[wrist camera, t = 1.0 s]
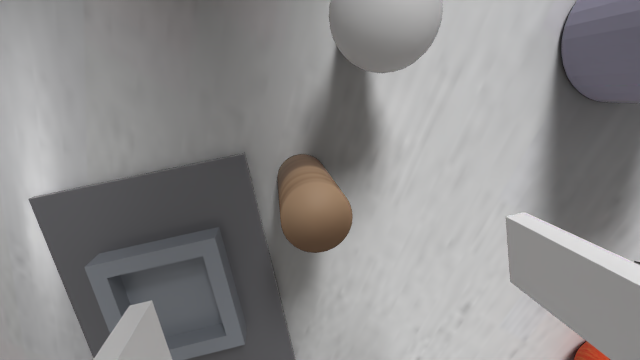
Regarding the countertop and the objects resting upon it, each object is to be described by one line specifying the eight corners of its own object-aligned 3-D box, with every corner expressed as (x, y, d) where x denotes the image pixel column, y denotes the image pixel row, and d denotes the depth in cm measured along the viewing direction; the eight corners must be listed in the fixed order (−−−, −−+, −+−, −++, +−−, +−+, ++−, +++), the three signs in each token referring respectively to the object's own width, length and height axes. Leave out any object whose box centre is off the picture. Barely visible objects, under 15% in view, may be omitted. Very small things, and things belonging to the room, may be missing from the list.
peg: (272, 159, 29) (273, 192, 20) (321, 149, 30) (345, 176, 20) (283, 206, 30) (289, 259, 21) (330, 196, 31) (357, 243, 21)
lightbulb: (353, 94, 29) (401, 96, 18) (296, 37, 27) (312, 1, 17) (407, 36, 28) (489, 2, 18) (352, -27, 27) (406, -104, 16)
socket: (33, 196, 28) (6, 208, 25) (244, 152, 29) (241, 159, 26) (119, 408, 33) (105, 438, 30) (296, 362, 34) (298, 387, 31)
